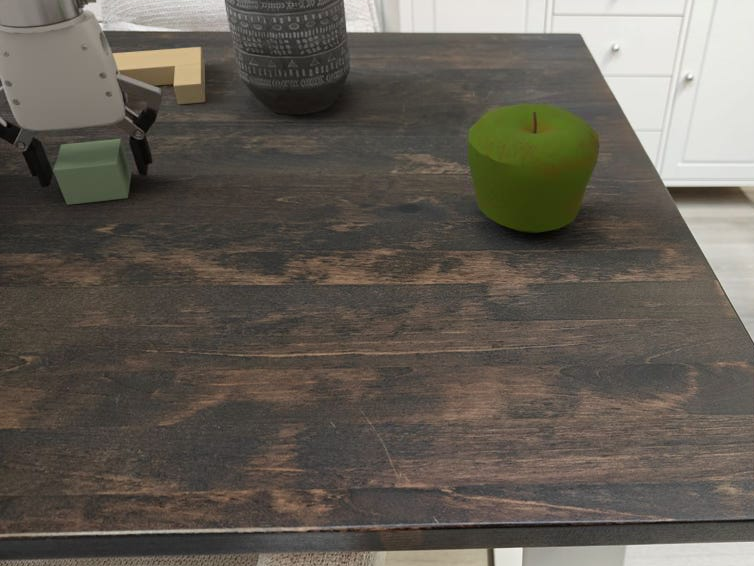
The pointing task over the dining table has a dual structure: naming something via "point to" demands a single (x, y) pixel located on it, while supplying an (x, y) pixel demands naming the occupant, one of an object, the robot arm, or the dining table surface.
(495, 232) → the dining table surface
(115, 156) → the sage green rounded cube
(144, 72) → the u-shaped wooden block
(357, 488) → the dining table surface
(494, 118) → the apple
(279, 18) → the planter
